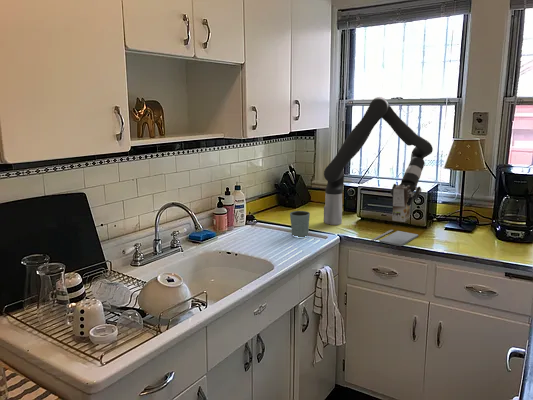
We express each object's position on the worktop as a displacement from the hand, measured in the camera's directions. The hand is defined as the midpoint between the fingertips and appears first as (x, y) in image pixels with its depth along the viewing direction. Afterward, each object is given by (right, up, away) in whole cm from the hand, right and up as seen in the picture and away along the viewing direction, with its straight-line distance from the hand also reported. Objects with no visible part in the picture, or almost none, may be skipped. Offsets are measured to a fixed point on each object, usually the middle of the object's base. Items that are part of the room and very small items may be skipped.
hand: (400, 203), depth 219 cm
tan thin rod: (-6, -16, +11) cm, 21 cm away
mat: (+1, -17, +5) cm, 18 cm away
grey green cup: (-48, -17, +14) cm, 52 cm away
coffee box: (+1, -8, +3) cm, 8 cm away
